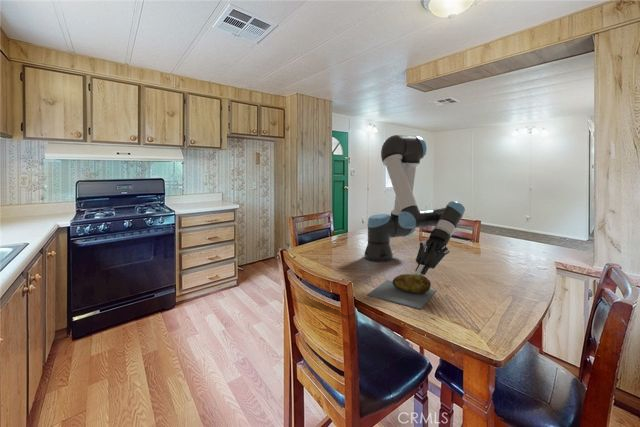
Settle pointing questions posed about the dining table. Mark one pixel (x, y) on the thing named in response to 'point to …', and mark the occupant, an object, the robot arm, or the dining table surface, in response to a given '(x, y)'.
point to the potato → (412, 283)
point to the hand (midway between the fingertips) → (415, 280)
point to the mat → (401, 295)
